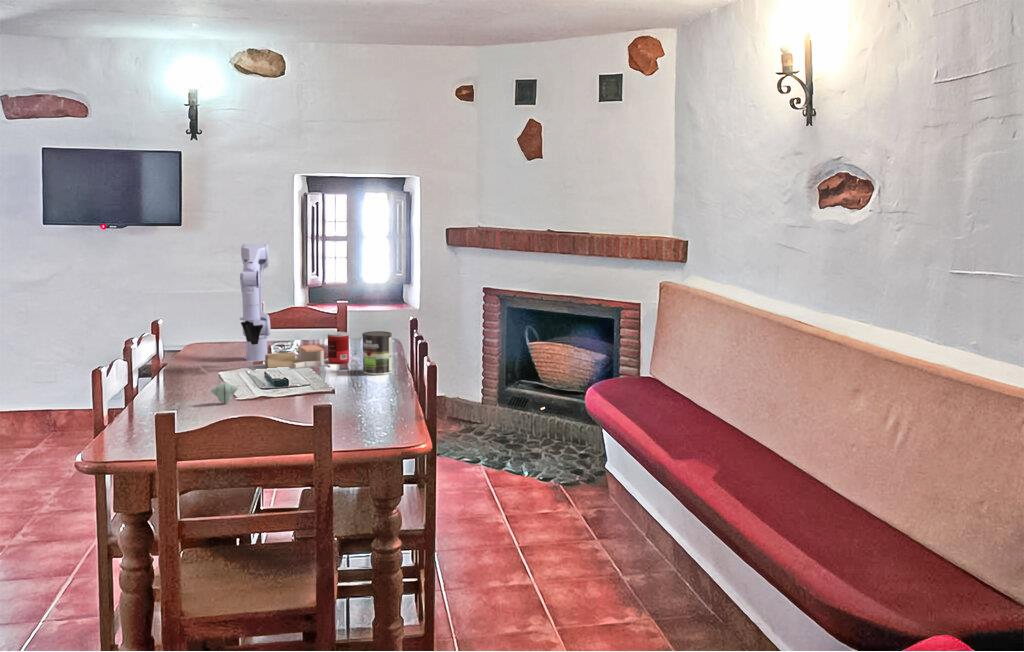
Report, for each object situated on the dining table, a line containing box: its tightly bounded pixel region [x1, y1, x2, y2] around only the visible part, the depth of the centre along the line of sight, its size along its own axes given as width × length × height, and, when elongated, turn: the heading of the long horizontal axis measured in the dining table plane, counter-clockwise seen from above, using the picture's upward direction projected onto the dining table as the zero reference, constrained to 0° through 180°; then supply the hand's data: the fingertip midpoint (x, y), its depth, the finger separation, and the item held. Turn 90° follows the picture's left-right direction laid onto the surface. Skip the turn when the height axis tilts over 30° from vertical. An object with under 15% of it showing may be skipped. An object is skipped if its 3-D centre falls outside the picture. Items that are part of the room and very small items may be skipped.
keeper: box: [245, 344, 331, 371], centre depth 336 cm, size 14×27×7 cm, turn 119°
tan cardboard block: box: [264, 351, 297, 368], centre depth 335 cm, size 4×10×4 cm, turn 119°
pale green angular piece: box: [210, 381, 239, 405], centre depth 279 cm, size 8×4×7 cm, turn 109°
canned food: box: [327, 331, 350, 365], centre depth 346 cm, size 8×8×11 cm
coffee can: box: [361, 330, 393, 376], centre depth 327 cm, size 10×10×14 cm
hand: (252, 342), depth 329 cm, fingers open, 6 cm apart
